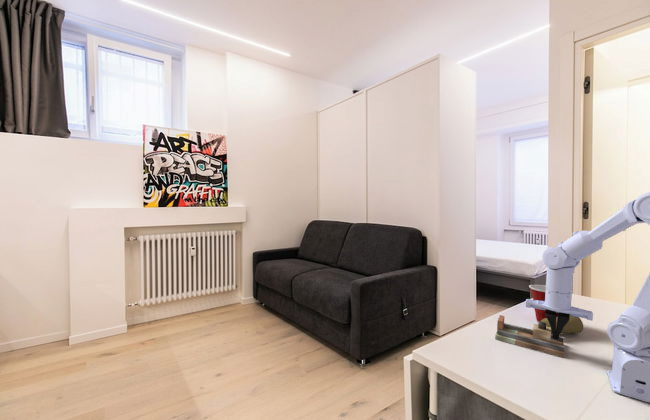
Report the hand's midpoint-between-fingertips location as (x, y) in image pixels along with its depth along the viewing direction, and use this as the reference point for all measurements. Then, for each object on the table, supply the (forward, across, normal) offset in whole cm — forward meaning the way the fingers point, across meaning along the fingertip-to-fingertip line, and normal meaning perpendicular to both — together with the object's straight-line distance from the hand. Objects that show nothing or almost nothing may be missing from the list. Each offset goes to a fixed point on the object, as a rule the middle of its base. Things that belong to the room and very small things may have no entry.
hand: (555, 337), depth 83 cm
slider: (+2, +3, 0) cm, 4 cm away
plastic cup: (+3, +2, -20) cm, 20 cm away
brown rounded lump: (0, -4, -16) cm, 17 cm away
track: (+3, +6, 0) cm, 7 cm away
